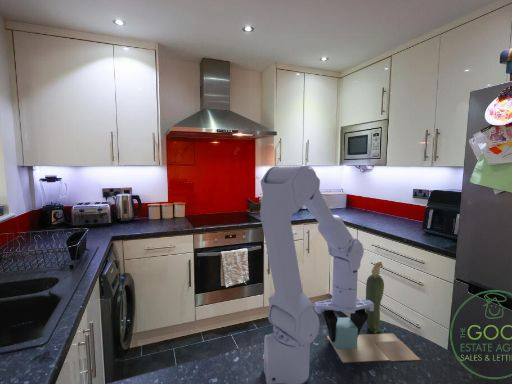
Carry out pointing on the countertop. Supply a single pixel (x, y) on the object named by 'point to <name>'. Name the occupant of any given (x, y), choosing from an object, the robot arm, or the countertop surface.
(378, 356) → the maple board
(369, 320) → the vegetable
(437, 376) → the countertop surface
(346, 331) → the teal block
